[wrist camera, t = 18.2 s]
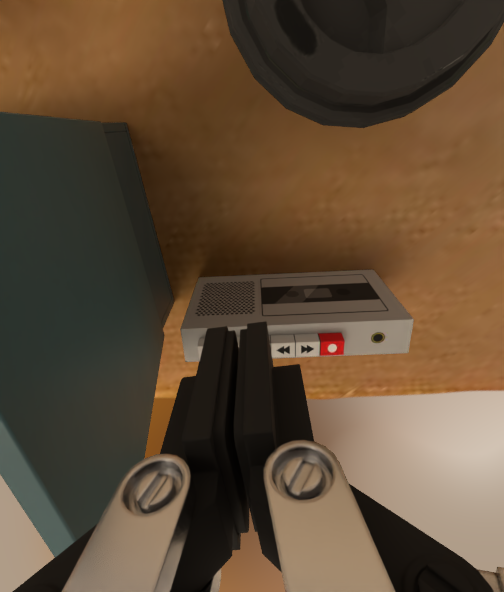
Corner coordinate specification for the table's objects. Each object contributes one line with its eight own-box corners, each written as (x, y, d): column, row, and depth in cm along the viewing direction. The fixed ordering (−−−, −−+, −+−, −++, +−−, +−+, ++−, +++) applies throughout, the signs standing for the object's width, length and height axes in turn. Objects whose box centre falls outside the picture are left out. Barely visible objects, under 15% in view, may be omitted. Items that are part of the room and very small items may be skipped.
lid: (95, 620, 12) (119, 614, 12) (-249, 99, 5) (-192, 91, 5) (154, 337, 28) (164, 335, 28) (88, 123, 21) (101, 121, 22)
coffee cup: (198, 25, 24) (129, -96, 11) (335, -134, 21) (482, -590, 8) (301, 159, 28) (347, 193, 15) (432, 42, 25) (647, -54, 11)
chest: (0, 324, 35) (-43, 359, 30) (-87, 157, 28) (-161, 165, 23) (174, 301, 34) (160, 333, 28) (126, 122, 27) (97, 122, 22)
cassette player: (373, 269, 32) (420, 327, 23) (370, 296, 33) (414, 361, 24) (198, 277, 32) (177, 337, 23) (201, 304, 34) (183, 370, 25)
